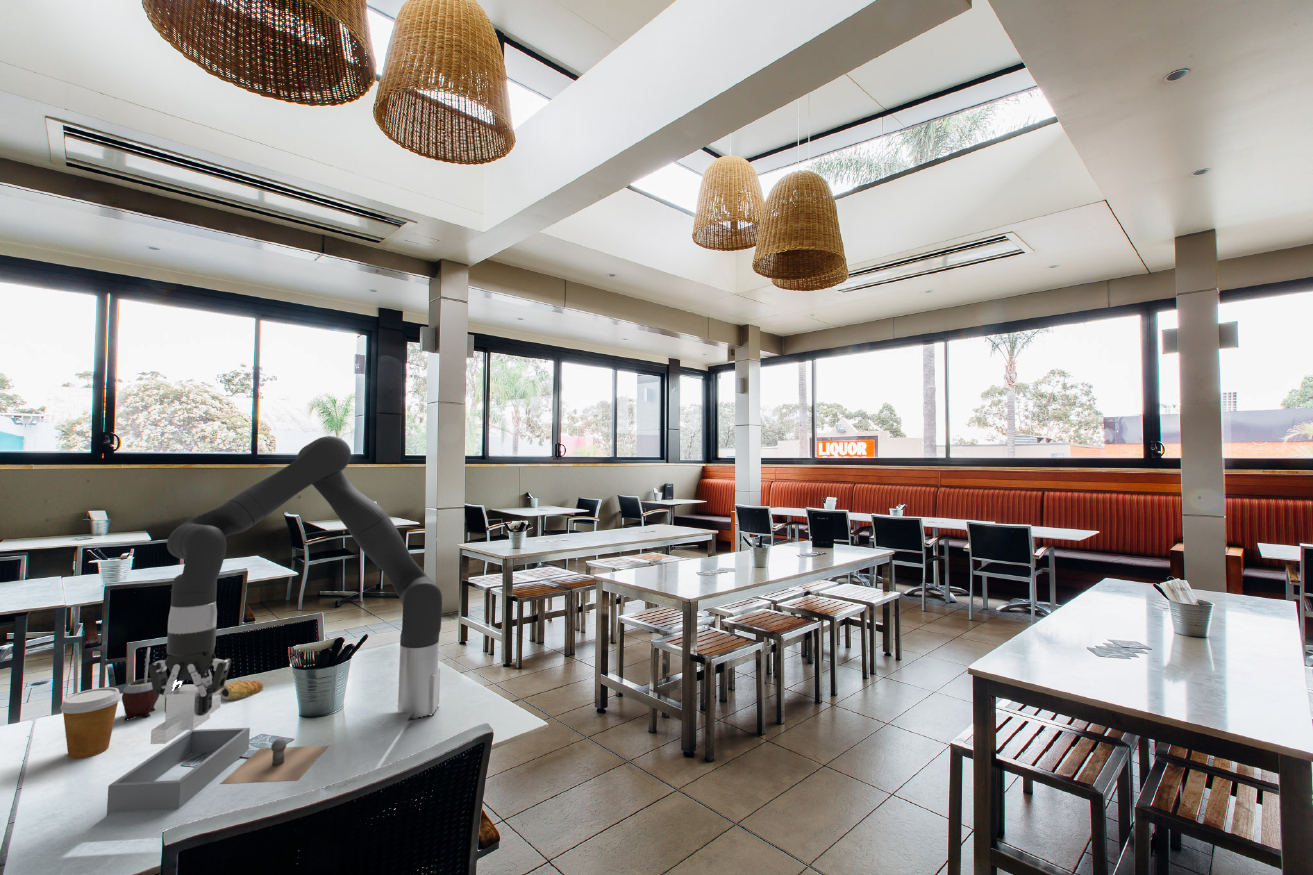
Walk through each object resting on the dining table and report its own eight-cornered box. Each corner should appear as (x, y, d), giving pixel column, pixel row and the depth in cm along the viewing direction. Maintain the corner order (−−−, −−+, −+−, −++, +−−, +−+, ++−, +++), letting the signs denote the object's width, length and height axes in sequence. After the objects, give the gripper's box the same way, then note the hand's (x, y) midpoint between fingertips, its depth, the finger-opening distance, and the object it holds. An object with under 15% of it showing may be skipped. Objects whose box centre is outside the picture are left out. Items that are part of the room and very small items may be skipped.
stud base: (329, 752, 127) (330, 722, 127) (297, 787, 113) (298, 754, 114) (260, 755, 126) (261, 725, 126) (219, 791, 112) (221, 758, 112)
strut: (200, 707, 122) (202, 674, 122) (226, 707, 123) (228, 674, 123) (142, 744, 106) (145, 706, 106) (172, 743, 107) (174, 705, 107)
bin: (189, 758, 124) (190, 729, 124) (248, 756, 125) (249, 727, 125) (106, 820, 102) (108, 785, 103) (178, 816, 104) (180, 782, 104)
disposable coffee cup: (129, 745, 129) (132, 690, 130) (74, 766, 120) (77, 706, 121) (101, 738, 132) (104, 684, 133) (46, 758, 123) (49, 700, 124)
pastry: (255, 686, 164) (255, 672, 164) (268, 691, 160) (269, 677, 161) (216, 698, 156) (217, 683, 156) (230, 703, 152) (230, 688, 152)
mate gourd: (133, 723, 140) (136, 659, 140) (111, 718, 142) (115, 655, 143) (167, 710, 147) (170, 650, 148) (146, 706, 149) (149, 646, 150)
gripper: (242, 620, 120) (238, 705, 119) (166, 621, 118) (161, 707, 117) (220, 631, 112) (215, 721, 111) (138, 632, 111) (132, 724, 110)
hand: (187, 714), depth 114 cm, fingers closed on strut, 5 cm apart
